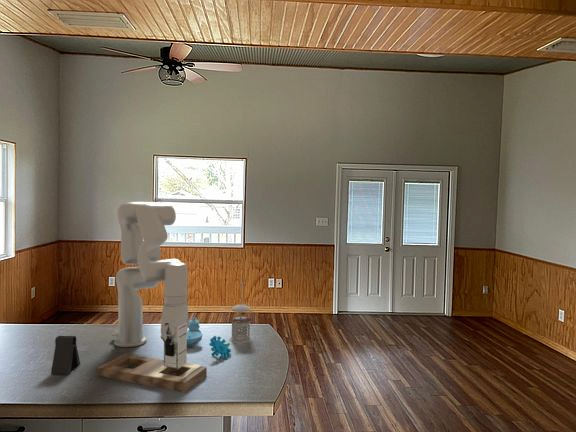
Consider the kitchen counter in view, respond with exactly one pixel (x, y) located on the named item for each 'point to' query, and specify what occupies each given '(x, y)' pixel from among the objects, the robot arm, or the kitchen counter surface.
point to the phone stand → (65, 355)
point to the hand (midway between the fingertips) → (175, 351)
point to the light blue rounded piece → (193, 332)
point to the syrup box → (178, 348)
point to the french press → (241, 324)
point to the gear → (220, 347)
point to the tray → (152, 372)
